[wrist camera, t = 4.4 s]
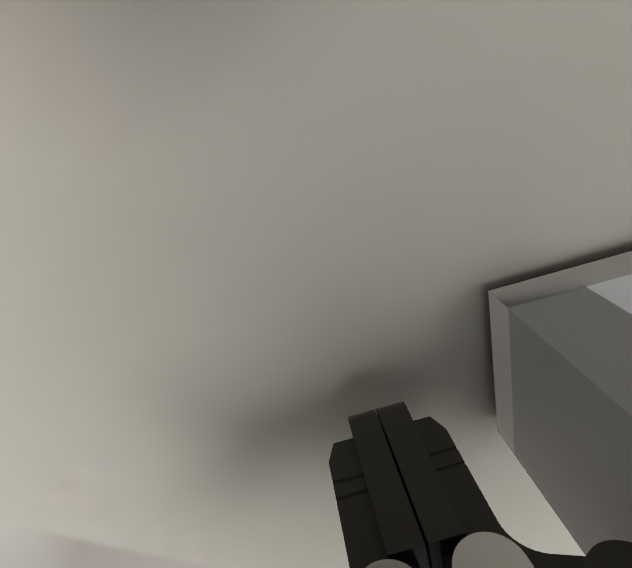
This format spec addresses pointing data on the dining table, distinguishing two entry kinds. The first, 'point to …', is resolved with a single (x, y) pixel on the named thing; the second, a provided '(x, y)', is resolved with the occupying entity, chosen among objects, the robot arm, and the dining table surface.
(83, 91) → the dining table surface
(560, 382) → the sled
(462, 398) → the dining table surface
